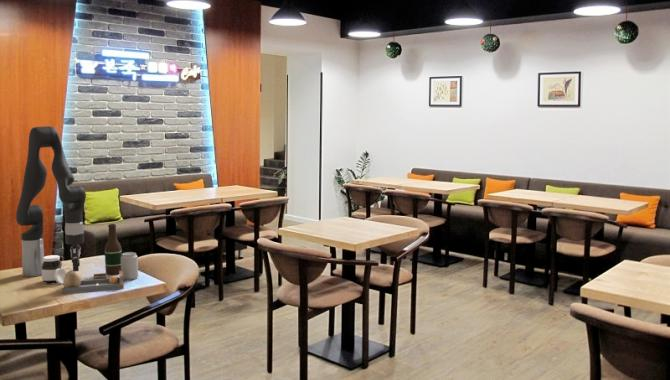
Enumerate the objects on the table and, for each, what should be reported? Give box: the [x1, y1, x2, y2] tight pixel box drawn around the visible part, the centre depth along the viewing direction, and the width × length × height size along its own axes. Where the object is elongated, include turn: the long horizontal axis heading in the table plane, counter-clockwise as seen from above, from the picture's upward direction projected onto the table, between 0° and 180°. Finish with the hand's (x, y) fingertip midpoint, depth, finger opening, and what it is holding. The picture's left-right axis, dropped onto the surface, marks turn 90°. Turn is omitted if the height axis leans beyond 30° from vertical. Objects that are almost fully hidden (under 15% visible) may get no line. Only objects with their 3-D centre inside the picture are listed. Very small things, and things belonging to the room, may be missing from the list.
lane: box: [61, 277, 121, 295], centre depth 277 cm, size 23×11×2 cm, turn 109°
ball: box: [109, 275, 119, 284], centre depth 279 cm, size 4×4×4 cm
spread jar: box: [41, 254, 68, 285], centre depth 285 cm, size 12×11×12 cm
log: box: [62, 269, 82, 288], centre depth 274 cm, size 7×8×7 cm
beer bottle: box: [104, 223, 123, 276], centre depth 300 cm, size 8×8×24 cm
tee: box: [92, 272, 108, 280], centre depth 286 cm, size 6×6×3 cm
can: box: [121, 251, 139, 281], centre depth 292 cm, size 8×8×12 cm
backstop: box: [118, 270, 125, 290], centre depth 280 cm, size 2×11×6 cm, turn 19°
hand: (76, 268), depth 274 cm, fingers open, 8 cm apart
